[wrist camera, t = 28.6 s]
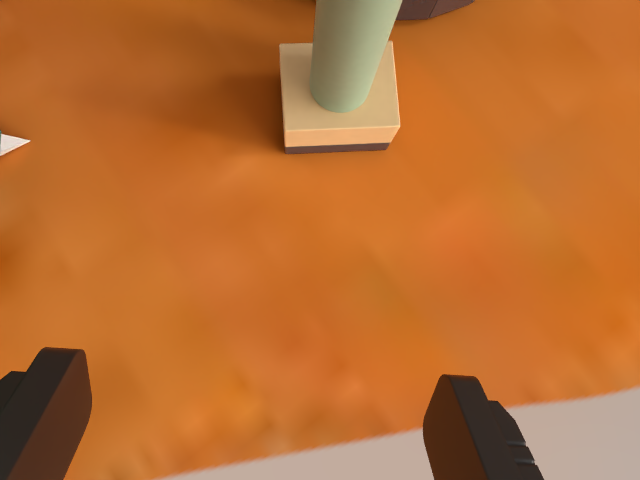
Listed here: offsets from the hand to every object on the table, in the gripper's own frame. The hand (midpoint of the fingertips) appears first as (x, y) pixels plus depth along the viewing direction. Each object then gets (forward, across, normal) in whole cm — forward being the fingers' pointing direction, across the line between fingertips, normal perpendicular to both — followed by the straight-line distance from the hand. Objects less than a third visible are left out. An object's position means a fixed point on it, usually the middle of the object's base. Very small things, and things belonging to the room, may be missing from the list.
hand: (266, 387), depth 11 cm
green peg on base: (+15, -2, -2) cm, 16 cm away
